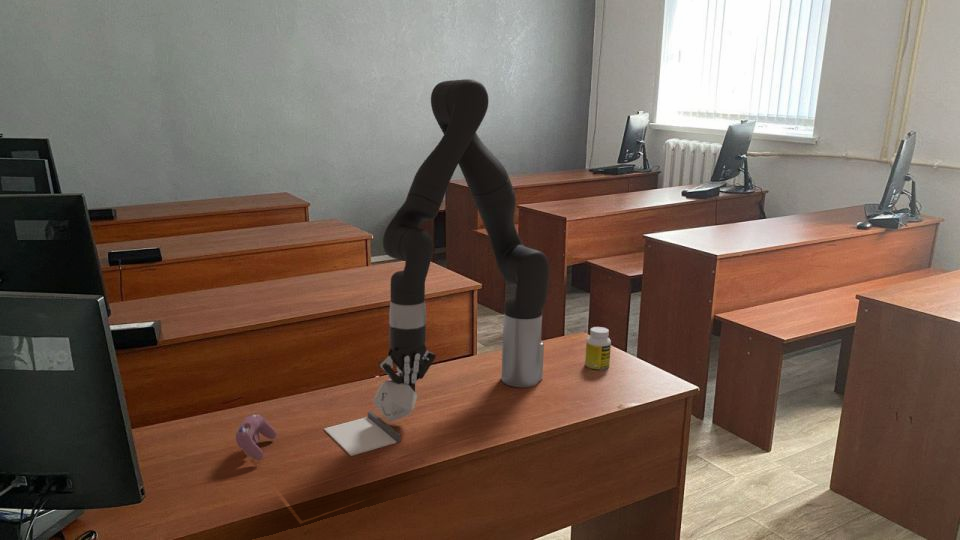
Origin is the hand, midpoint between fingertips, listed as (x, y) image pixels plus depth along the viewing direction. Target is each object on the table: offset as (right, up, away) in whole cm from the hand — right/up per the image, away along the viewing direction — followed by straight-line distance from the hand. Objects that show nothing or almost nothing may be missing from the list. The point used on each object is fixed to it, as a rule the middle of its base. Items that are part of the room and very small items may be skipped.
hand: (407, 398), depth 153 cm
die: (-1, -4, +1) cm, 4 cm away
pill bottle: (+46, +1, +33) cm, 56 cm away
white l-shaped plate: (-9, -7, -5) cm, 13 cm away
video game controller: (-28, -8, -11) cm, 31 cm away
